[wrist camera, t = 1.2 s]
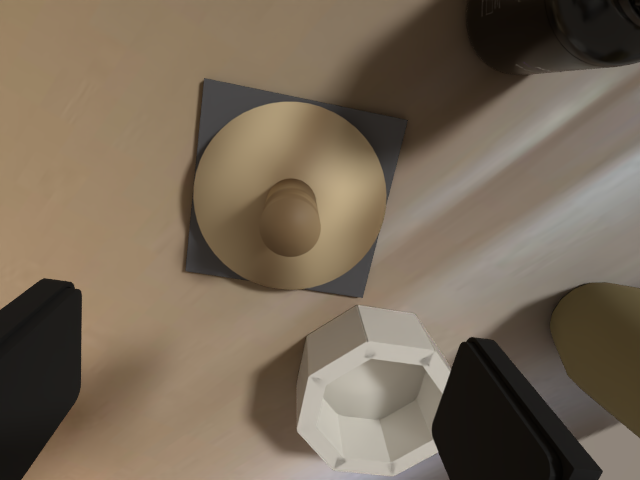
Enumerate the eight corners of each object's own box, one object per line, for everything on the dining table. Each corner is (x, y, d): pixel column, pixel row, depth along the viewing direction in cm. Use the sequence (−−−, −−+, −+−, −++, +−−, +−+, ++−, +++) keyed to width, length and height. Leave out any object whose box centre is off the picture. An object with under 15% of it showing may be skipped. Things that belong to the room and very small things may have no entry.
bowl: (455, 319, 30) (481, 356, 26) (416, 431, 33) (434, 480, 29) (314, 298, 29) (317, 334, 24) (289, 416, 32) (288, 466, 28)
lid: (403, 122, 25) (436, 131, 19) (360, 294, 28) (376, 344, 23) (207, 82, 23) (179, 79, 18) (188, 268, 27) (160, 314, 21)
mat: (406, 119, 25) (407, 120, 25) (361, 295, 29) (362, 297, 28) (205, 78, 24) (204, 78, 23) (186, 268, 27) (185, 271, 27)
